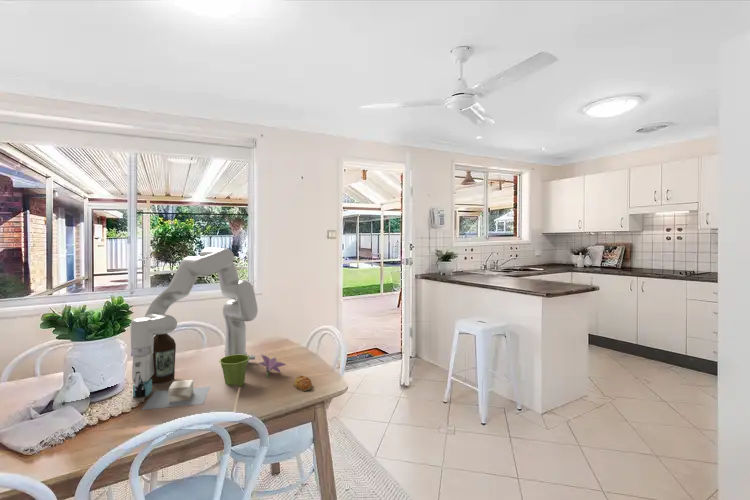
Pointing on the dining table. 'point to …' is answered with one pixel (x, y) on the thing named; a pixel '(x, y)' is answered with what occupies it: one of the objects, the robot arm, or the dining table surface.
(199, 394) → the slate board
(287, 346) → the dining table surface
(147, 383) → the teal block
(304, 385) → the pastry
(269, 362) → the lily
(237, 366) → the plant pot
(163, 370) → the olive oil
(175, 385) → the cream base block
